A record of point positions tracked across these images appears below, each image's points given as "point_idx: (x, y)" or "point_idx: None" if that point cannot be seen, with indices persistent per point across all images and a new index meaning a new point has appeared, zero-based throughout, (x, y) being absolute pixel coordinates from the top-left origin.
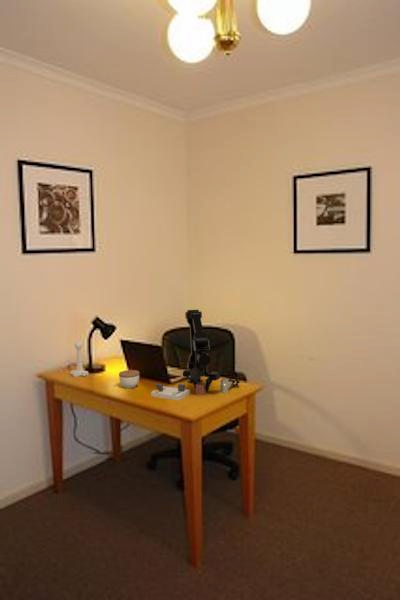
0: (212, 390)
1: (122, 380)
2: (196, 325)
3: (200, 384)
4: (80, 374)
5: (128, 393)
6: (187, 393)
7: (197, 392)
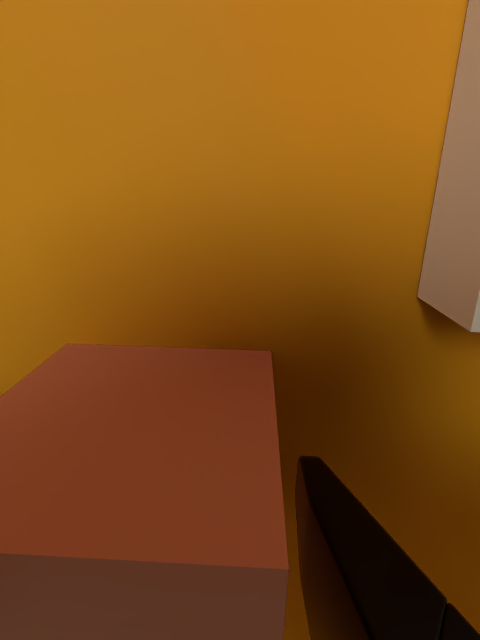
0: None
1: None
2: None
3: (43, 608)
4: None
5: None
6: (464, 167)
7: (224, 366)
